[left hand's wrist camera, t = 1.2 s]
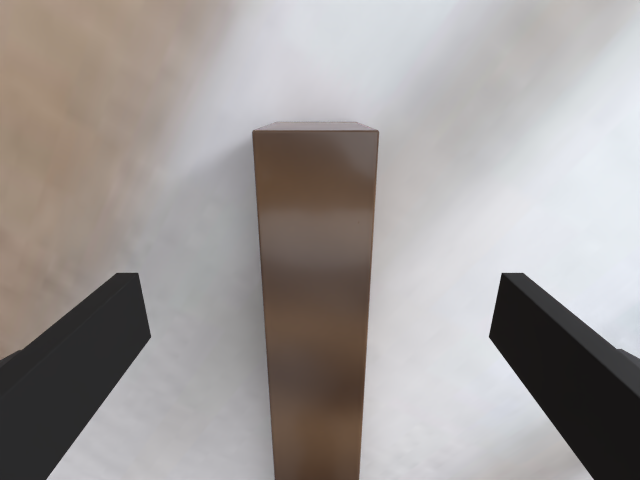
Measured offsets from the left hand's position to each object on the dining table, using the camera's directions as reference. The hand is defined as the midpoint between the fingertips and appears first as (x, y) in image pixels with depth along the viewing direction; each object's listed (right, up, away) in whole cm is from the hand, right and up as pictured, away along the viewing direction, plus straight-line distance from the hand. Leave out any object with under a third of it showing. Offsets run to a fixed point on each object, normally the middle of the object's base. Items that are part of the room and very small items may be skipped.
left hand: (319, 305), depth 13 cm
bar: (0, -21, +20) cm, 29 cm away
